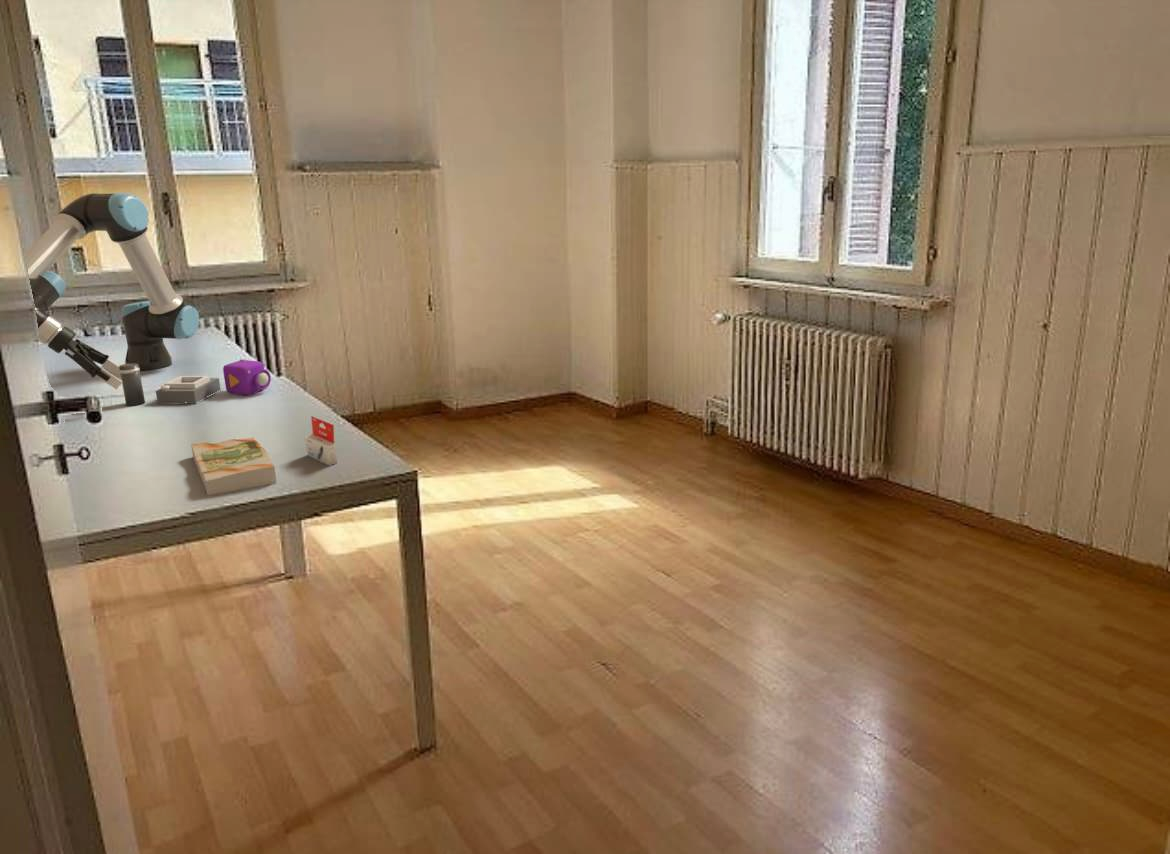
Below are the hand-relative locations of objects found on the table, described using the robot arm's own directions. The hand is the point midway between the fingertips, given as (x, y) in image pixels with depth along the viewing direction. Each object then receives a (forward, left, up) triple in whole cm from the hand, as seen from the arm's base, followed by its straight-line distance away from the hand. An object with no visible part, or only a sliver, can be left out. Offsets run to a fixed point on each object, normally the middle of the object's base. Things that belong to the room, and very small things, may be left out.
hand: (122, 380), depth 259 cm
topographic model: (+55, +59, -8) cm, 81 cm away
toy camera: (-16, +32, -8) cm, 36 cm away
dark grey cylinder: (-2, +2, -8) cm, 8 cm away
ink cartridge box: (+47, +78, -8) cm, 91 cm away
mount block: (-10, +15, -8) cm, 19 cm away
